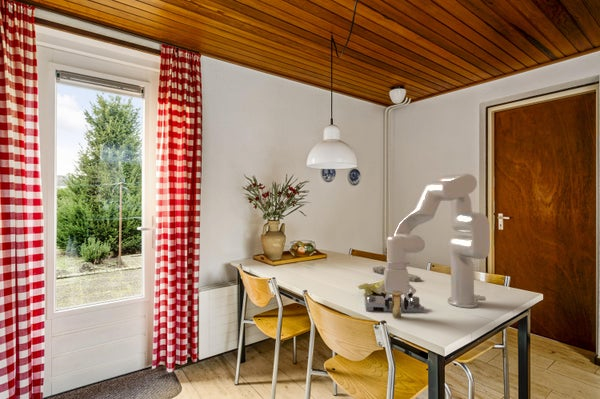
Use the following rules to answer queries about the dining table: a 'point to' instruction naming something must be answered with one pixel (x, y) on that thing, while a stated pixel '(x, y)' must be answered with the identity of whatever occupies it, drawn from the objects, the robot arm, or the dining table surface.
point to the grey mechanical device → (379, 301)
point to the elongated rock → (411, 277)
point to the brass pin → (396, 304)
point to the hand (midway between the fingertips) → (396, 308)
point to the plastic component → (371, 288)
